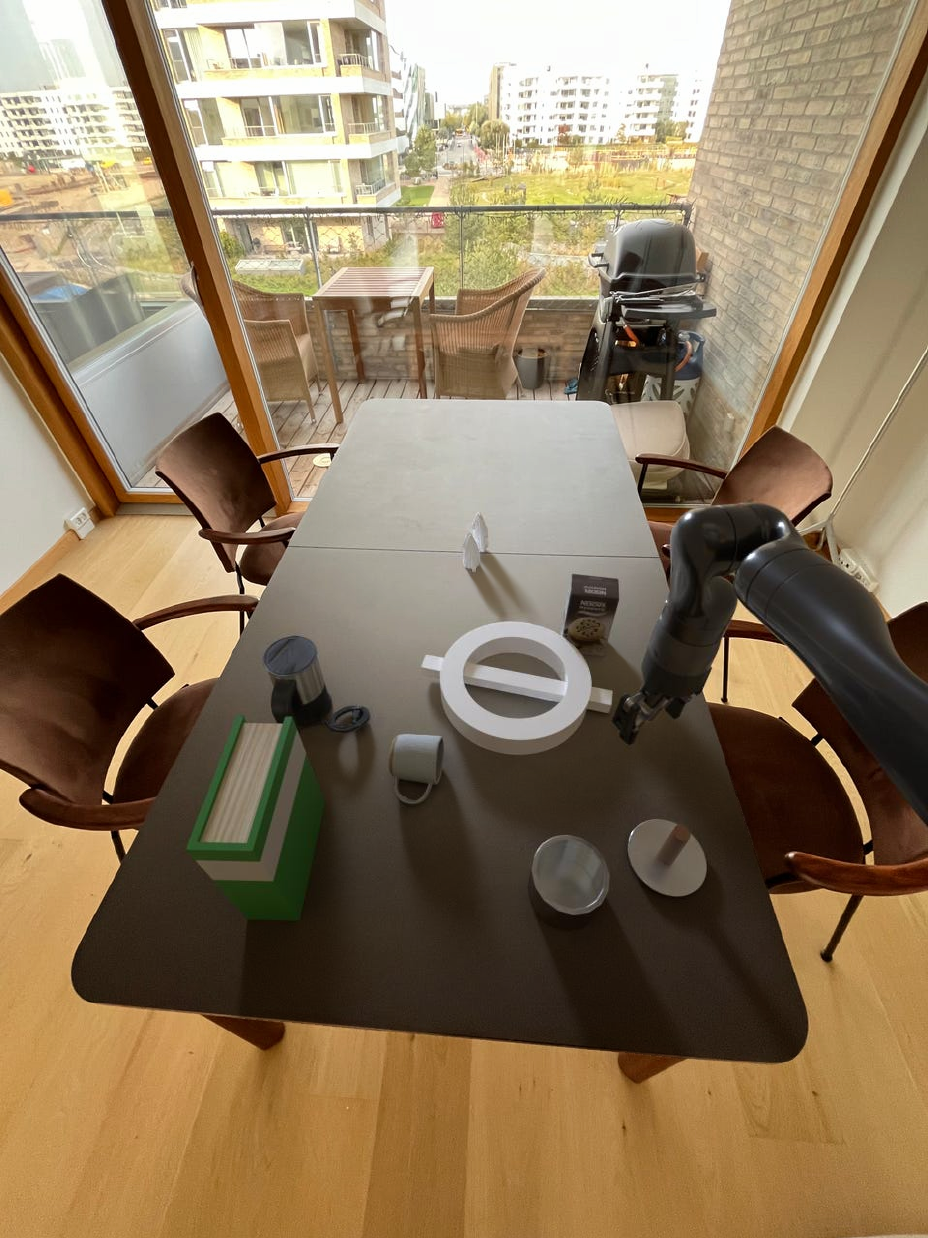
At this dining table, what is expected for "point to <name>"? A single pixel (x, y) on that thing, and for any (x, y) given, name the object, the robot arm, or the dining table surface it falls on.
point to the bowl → (568, 882)
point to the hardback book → (261, 821)
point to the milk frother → (303, 687)
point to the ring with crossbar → (516, 687)
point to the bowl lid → (667, 858)
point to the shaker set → (475, 543)
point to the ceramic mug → (416, 761)
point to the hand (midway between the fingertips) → (649, 726)
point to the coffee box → (590, 612)
